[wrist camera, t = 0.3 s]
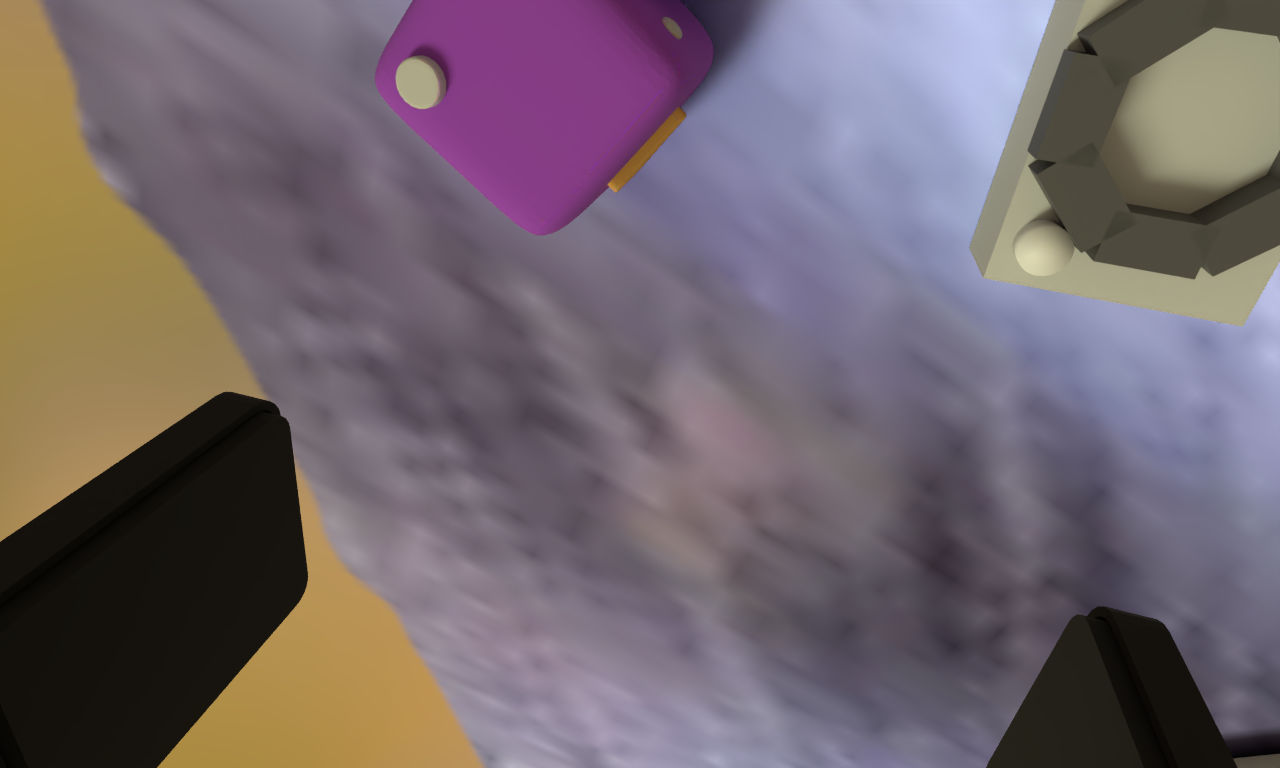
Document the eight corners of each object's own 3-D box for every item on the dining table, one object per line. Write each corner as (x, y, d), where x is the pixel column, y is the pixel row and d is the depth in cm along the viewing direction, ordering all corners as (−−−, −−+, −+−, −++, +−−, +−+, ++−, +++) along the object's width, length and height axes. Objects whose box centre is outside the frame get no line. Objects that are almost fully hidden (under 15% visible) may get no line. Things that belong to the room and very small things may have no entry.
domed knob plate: (1092, -113, 28) (1143, -130, 23) (1397, -78, 27) (1517, -88, 22) (966, 247, 35) (986, 290, 30) (1204, 290, 34) (1263, 342, 29)
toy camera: (799, -59, 31) (784, -69, 22) (633, 215, 38) (574, 286, 29) (575, -217, 30) (471, -291, 22) (448, 92, 37) (331, 128, 29)
